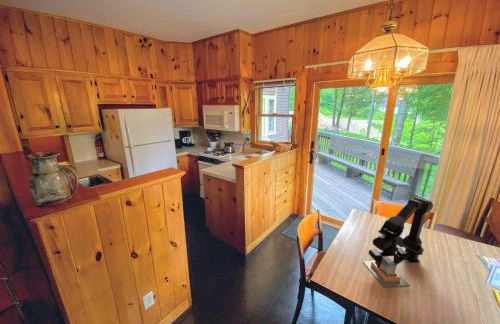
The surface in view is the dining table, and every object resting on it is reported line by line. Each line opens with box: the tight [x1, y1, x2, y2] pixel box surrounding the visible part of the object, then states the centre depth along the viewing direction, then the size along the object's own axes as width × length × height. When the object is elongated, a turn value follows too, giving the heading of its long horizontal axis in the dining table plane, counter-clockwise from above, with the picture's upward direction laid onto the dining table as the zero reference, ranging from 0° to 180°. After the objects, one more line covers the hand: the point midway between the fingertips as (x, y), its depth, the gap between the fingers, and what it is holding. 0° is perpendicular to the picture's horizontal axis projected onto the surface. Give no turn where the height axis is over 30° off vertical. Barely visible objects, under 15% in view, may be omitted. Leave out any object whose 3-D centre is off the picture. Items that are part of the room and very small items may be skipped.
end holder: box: [362, 260, 411, 289], centre depth 113 cm, size 14×18×3 cm
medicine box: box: [379, 256, 397, 277], centre depth 113 cm, size 8×4×9 cm, turn 4°
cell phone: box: [378, 229, 404, 248], centre depth 143 cm, size 9×18×1 cm, turn 15°
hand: (385, 266), depth 113 cm, fingers open, 9 cm apart
